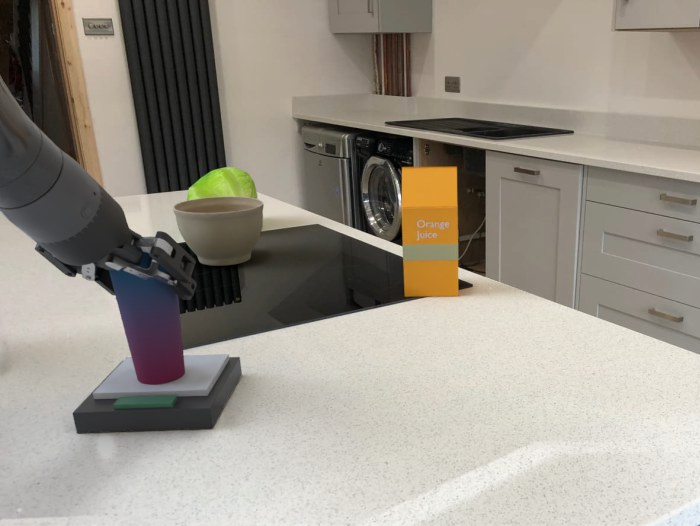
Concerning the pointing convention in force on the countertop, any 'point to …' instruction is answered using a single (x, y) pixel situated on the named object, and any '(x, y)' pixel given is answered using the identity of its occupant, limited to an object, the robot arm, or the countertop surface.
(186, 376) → the scale
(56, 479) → the countertop surface
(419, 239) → the orange juice
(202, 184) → the lettuce
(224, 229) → the planter bowl
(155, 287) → the cup
